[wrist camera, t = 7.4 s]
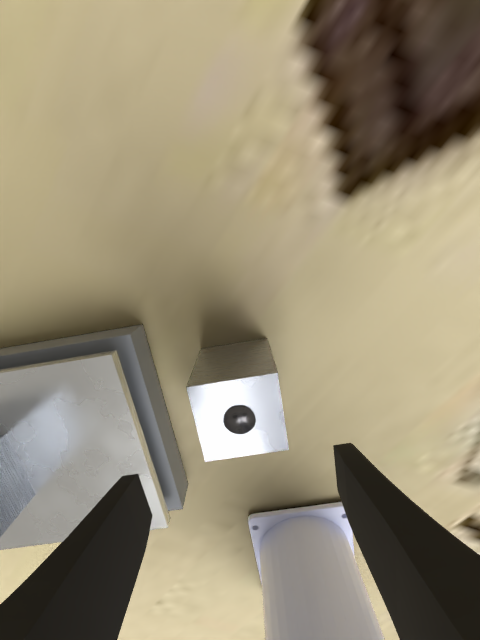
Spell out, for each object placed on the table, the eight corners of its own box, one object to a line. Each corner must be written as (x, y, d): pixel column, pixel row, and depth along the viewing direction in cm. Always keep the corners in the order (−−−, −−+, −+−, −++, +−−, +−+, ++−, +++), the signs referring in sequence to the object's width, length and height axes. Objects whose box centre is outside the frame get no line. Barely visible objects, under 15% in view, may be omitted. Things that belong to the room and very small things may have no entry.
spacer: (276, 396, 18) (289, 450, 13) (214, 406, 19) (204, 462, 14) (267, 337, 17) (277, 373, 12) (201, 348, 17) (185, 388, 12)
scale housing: (188, 484, 20) (181, 516, 18) (-44, 516, 21) (-80, 551, 19) (142, 324, 17) (126, 337, 14) (-132, 370, 18) (-190, 390, 15)
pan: (177, 490, 19) (167, 527, 17) (21, 512, 20) (-11, 551, 17) (131, 337, 16) (111, 354, 14) (-53, 368, 17) (-105, 390, 14)
